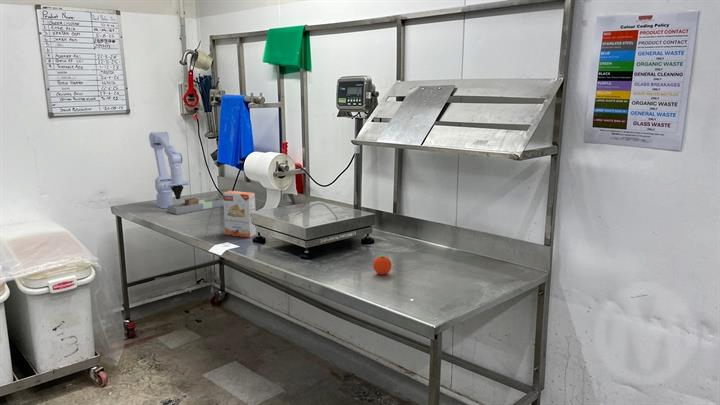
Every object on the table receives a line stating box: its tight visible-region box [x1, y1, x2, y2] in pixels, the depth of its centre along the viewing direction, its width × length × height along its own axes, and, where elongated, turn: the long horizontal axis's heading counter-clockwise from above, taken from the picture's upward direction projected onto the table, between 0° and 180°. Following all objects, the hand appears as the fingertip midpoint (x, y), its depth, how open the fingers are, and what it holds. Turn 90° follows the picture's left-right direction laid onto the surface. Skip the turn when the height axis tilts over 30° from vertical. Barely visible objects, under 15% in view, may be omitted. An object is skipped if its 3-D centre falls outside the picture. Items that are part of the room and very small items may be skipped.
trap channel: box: [166, 197, 224, 216], centre depth 304 cm, size 12×32×4 cm, turn 139°
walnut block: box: [184, 197, 199, 206], centre depth 301 cm, size 5×6×4 cm
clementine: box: [372, 255, 392, 276], centre depth 196 cm, size 8×7×7 cm
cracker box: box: [222, 190, 257, 239], centre depth 247 cm, size 14×6×21 cm, turn 70°
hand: (177, 199), depth 294 cm, fingers closed
